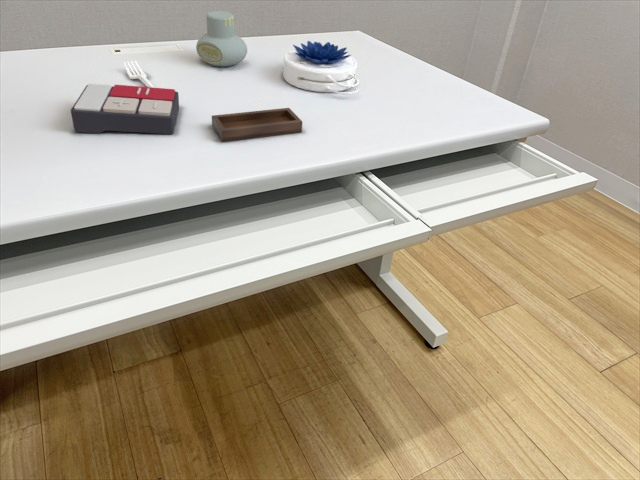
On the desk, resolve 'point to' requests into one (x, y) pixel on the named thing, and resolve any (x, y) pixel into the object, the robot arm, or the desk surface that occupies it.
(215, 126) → the pen tray
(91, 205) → the desk surface
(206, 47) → the air freshener
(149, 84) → the fork
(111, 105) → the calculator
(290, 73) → the box with blue lotus
